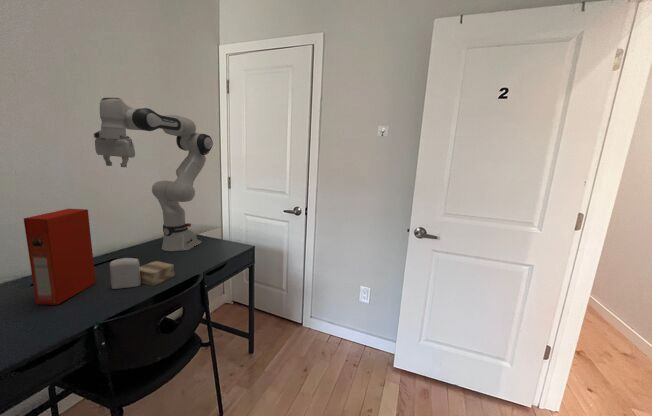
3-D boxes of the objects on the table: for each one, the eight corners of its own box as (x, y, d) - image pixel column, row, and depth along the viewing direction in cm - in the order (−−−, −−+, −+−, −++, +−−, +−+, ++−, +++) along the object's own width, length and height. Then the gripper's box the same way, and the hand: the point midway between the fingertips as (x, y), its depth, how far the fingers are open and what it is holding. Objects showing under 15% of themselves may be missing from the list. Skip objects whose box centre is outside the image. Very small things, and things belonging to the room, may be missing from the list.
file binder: (35, 304, 101) (23, 217, 95) (75, 282, 118) (67, 208, 112) (58, 305, 101) (48, 219, 95) (95, 283, 118) (88, 209, 112)
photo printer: (109, 290, 113) (107, 261, 111) (113, 285, 117) (110, 257, 115) (139, 287, 117) (138, 259, 115) (142, 282, 121) (140, 255, 119)
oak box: (156, 272, 132) (156, 260, 131) (174, 277, 129) (174, 264, 128) (134, 281, 122) (133, 269, 121) (153, 287, 119) (152, 274, 118)
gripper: (138, 136, 124) (139, 168, 127) (105, 135, 130) (108, 164, 133) (123, 135, 118) (126, 168, 121) (90, 133, 124) (93, 164, 127)
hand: (116, 166), depth 127 cm, fingers open, 8 cm apart
